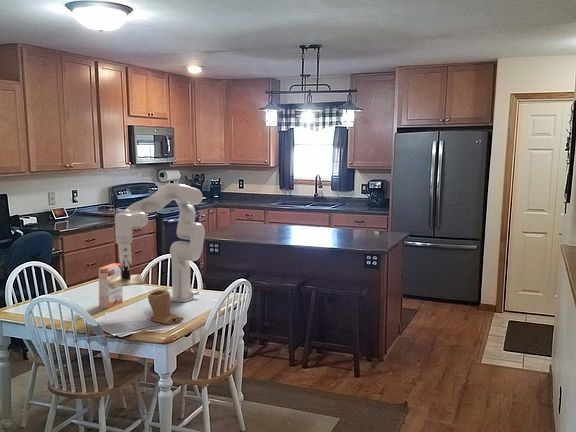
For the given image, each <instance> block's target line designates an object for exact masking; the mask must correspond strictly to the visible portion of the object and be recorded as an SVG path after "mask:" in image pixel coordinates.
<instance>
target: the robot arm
mask: <svg viewBox="0 0 576 432" xmlns="http://www.w3.org/2000/svg"><path fill="white" fill-rule="evenodd" d="M203 197H204V196H203V193H202V191H201V190H200V189H199V188H196V187H193V186H192V187H191V186H189V185H186V184H182V183H171V182H170V183H165V184H164V185H163V186H161V187H160V188H158V190H156V191H155V192H154V193H153V194H151V195H150V196H148V197H145V198H144V199H141V200H139V201H136V202H133V203H132V204H130V205H129V206H127V207H126V208H125V209H124V210H123V211H122V212H121V213H117V214H115V216H114V230H115V234H114V235H115V244H116V245H118V257H119V262H120V264H122V267H123V271H122V278H123V279H129V278H130V275H131V273H130V274H129V267H130V266H129V264H130V265H131V264H132V263H133V259H132V257H133V256H132V246H131V243H133V228H143V227H145V226H147V224H148V223H149V217H148V214H151V213H156V212H159V211H161V210H163V209H164V208H165V207H166V206H167V205H169V204H170V203H171V202H173V201H175V202H176V204H177V207H178V210H179V217H178V221H177V227H176V236H177V237H178V238H180V239H183V240H178V241H177V240H176V241H174V242H173V243H172V244H171V245H170V247H169V248H170V249H169V254H170V259H171V266H172V267H171V270H172V271H171V273H172V274H171V275H172V276H171V279H172V280H171V281H172V282H171V283H172V284H171V285H172V287H171V289H172V295H170V299H171V302H174V303H186V302H190V301H192V300H193V299H194V296H200V291H199V290H198V291H196V290H191V264H190V262H196V261H198V260H199V259H200V257H201V256H202V253H203V246H204V243H205V237H206V235H205V234H206V231H205V226H204V225H203V224H202V223H200V222H195V221H196V217H197V216H196V214H197V212H196V209H195V206H197V205H199V204H201V202H202V201H203V199H204V198H203ZM184 240H187V241H184ZM188 241H189V242H188Z"/></svg>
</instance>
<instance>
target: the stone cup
mask: <svg viewBox="0 0 576 432" xmlns="http://www.w3.org/2000/svg"><path fill="white" fill-rule="evenodd" d="M170 296H171V293H170V291H168V289H158V290H154V291H152V292H149V293H148V296H147V300H148V303H149V304H148V305H150V308H151V310H152V312H153V315H151V316H150V318H149V319H150V320H151V321H153V322H156V323H160V324H164V325H173V324H179V323H181V322H182V321H184V317H182V316H180V315H176V314H173V313H171V302H172V301H171V299H170Z"/></svg>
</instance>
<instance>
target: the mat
mask: <svg viewBox="0 0 576 432" xmlns="http://www.w3.org/2000/svg"><path fill="white" fill-rule="evenodd" d="M104 315H105V321H106V324H107V325H113V324H121V323H123V324H124V323H129V322H130V323H131V322H142V321H148V319H147V316H146V314H145V312H144V309H143V308H141V309H131V310H119V311H110V312H104Z"/></svg>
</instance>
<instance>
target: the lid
mask: <svg viewBox="0 0 576 432" xmlns="http://www.w3.org/2000/svg"><path fill="white" fill-rule="evenodd" d="M120 269H121V276H115V277H107V281H108V285H109V288H110V287H121V286H122V287H129V286H130V287H132V286H140V285H146V281H145V279H144V277H143V276H142V274H141V273H140V274H139V273H138V274H131V267H130V266H129V274H130V278H129V279H123V278H122V271H123V267H120Z"/></svg>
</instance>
